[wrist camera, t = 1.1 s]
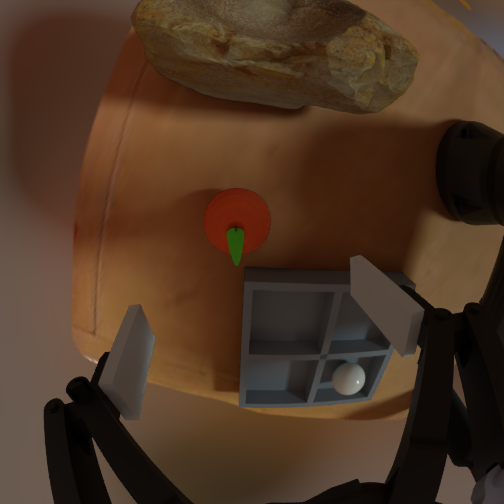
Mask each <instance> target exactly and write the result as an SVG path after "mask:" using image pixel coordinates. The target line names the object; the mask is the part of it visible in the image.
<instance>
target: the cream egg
mask: <svg viewBox="0 0 504 504" xmlns="http://www.w3.org/2000/svg"><path fill="white" fill-rule="evenodd" d="M364 382H365V373H364V370H363V369H362V367H361V366H359V365H358V364H356V363H352V362H348V363H344V364H341V365H340V366H338V367H337V368H336V369H335V371H334V373H333V375H332V385H333V387H334V389H335V390H336V391H337V392H338V393H340V394H342V395H352V394H355V393H357V392H358V391H359V390H360V389H361V388H362V387H363V385H364Z"/></svg>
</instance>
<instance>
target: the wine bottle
mask: <svg viewBox="0 0 504 504" xmlns="http://www.w3.org/2000/svg"><path fill="white" fill-rule="evenodd" d="M446 443H447V444H448V455H449V457H450V459H451V461H452V463H453V464H454V465H456V466H458V467H468V468H469V469H470V471H471V473H472V475H473V477H474V479H475V481H476V476H475V471H474V463H473V451H472V441H471V433H470V425H469V419H468V413H467V409H466V407H465V406H464V404H463V403H462V401H461V400H460V398H459V396H458V395H457V393H456V392H455V390H454V389H453V388H452V399H451V408H450V416H449V423H448V429H447V435H446ZM476 483H477V481H476Z"/></svg>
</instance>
